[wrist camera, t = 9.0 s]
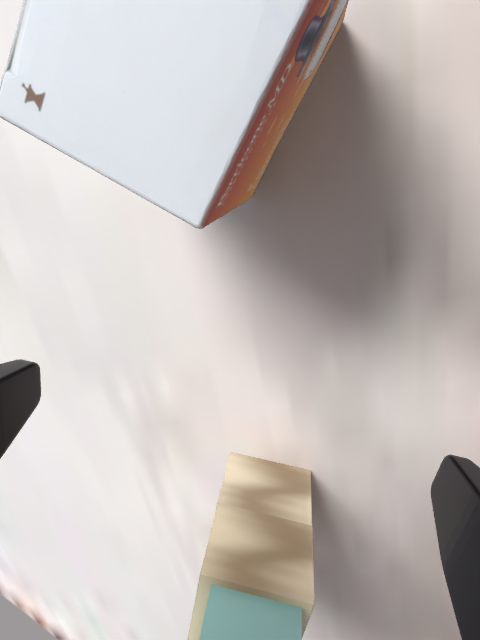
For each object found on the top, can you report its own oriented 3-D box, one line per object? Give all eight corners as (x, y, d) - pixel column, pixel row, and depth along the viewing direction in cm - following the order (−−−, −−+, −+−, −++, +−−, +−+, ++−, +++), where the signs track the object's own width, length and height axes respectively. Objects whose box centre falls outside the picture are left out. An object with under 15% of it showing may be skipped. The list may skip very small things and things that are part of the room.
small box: (251, 200, 19) (198, 242, 10) (147, 139, 19) (-18, 118, 9) (348, 17, 16) (417, -196, 6) (226, -60, 16) (102, -407, 6)
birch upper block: (312, 525, 21) (314, 604, 17) (291, 589, 23) (289, 671, 19) (218, 502, 21) (200, 574, 17) (205, 566, 23) (186, 643, 19)
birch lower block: (310, 470, 25) (311, 525, 21) (293, 529, 26) (291, 589, 23) (230, 451, 25) (217, 502, 21) (218, 510, 27) (205, 566, 23)
